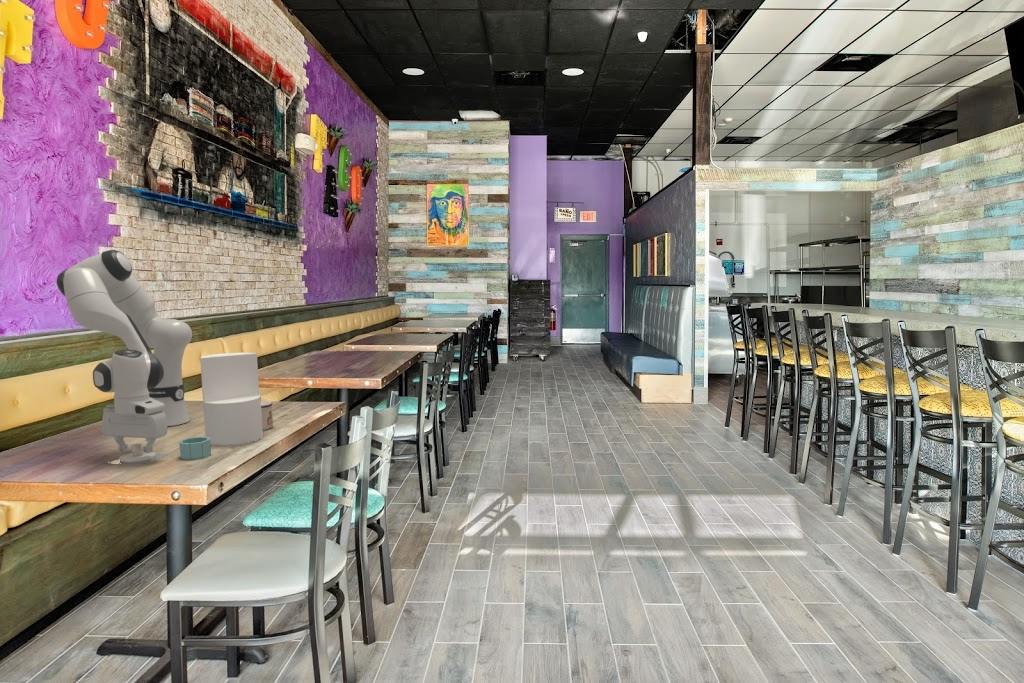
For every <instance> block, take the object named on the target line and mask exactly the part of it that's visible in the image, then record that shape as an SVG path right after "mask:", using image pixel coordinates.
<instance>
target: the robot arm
mask: <svg viewBox="0 0 1024 683" xmlns="http://www.w3.org/2000/svg"><path fill="white" fill-rule="evenodd" d="M132 272H133V267H132V264H131V262H130V260H129V259H128V257H127V256H126V255H125V254H124V253H123V252H121V251H118V250H116V249H109V250H105V251H102V252H101V253H98V254H95V255H92V256H90V257H87V258H84V259H83V260H82V261H80V262H78V263H77V264H76V263H75V264H74V265H72V266H71V267H69V268H67V269H64V270H63V271H61V272H60V273H59V274H58V275H57V276H56V286H57V288H58V291H60V293H61V294H62V295H63V296H64V297H65V301H66V303H67V306H68V309H69V312H70V315H71V316H72V319H74V321H75V322H76V323H77V324H78V325H80V326H81V327H83V328H86V329H88V330H91V331H96V332H97V331H98V332H102V333H107V334H111V335H113V336H115V337H118V338H119V339H121V341H123V342H124V344H125V346H126V348H127V349H120V350H117V351H116V350H115V352H113V353H112V357H111V358H109V359H107V360H105V361H102V362H99V363H98V364H97V365H96V366H95V368H93V371H92V381H93V385H94V387H95V388H96V389H97V390H99V391H101V392H102V393H114V394H113V403H114V404H110V403H109V404H107V405H105V407H104V408H103V410H102V412H103V414H102V420H101V432H102V435H103V436H106V437H113V438H114V441H115V443H116V444H117V446H118V451H119V452H125V451H128V448H129V447H128V444H127V443H126V442H125V440H124V439H125V438H137V439H138V438H139V439H145V442H146V444H145V445H146V446H143V451H144V452H145V453H150V452H154V447H153V446H154V444H155V442H156V440H157V439H160V438H165V436H166V435H167V433H168V427H172V426H173V427H174V426H178V425H181V424H182V425H183V424H186V423H188V422H190V421H191V419H190V416H189V414H188V409H187V406H186V400H185V393H186V392H185V384H184V383H183V372H182V371H183V367H182V366H183V365H182V364H183V357H184V354H185V351H186V350H185V349H186V347H187V346H188V345H189V344H190V342H191V341H192V337H193V331H192V328H191V327H190V325H189V324H188V323H186V322H184V321H181V320H179V319H174V318H172V319H171V318H163V317H161V315H159V313H158V311H157V310H156V309H157V308H156V307H155V305H156V301H155V300H154V298H153V297H152V295H150V294H149V292H148V291H147V290H146V288H144V287H143V285H142V284H141V283H140V281H139V280H138V279H137V278H136V277H134V275H132ZM151 349H153V351H152V350H151Z"/></svg>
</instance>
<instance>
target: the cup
mask: <svg viewBox="0 0 1024 683" xmlns="http://www.w3.org/2000/svg"><path fill="white" fill-rule="evenodd" d="M211 446H212V445H210V438H209V437H205V436H195V437H188V438H184V439H180V440H179V456H180V459H181V460H185V461H192V460H193V461H194V460H199V459H204V458H207V457H210V456H211V455H212V447H211Z"/></svg>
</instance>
